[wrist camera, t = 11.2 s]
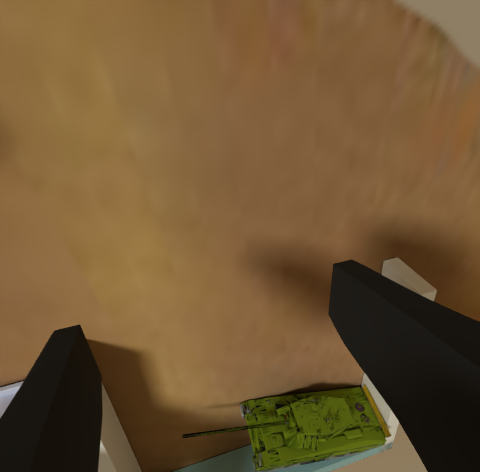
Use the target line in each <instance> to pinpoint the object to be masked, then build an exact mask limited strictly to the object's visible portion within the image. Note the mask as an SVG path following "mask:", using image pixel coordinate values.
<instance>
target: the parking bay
mask: <svg viewBox="0 0 480 472" xmlns="http://www.w3.org/2000/svg"><path fill="white" fill-rule="evenodd" d="M381 275H383V276H385V277H387V278H389V279H391V280H393V281H394V282H396V283H398V284H400V285H402V286H404V287H406V288H408V289H410V290H412V291H414V292H416V293H418V294H420V295H422V296H424V297H426V298H428V299H430V300H432V301H434V299H435V296H436V292H437V290H436V289H435V288H434V287H433V286H431V285H430V284H429V283H428V282H427V281H426V280H424V279H423V278H422V277H421V276H420V275H418V274H417V273H416V272H415V271H414V270H412V269H411V268H410V267H409V266H408V265H406V264H405V263H404V262H403V261H402V260H401V259H399V258H398V257H396V258H393V259H389V260H385V261H384V262H383V268H382V273H381ZM365 385H366V387H367V389H368V391H369V393H370V395H371V397H372V398H373V400H374V402H375V404H376V406H377V408H378V410H379V412H380V414H381V416H382V418H383V420H384V422H385V424H386V426H387V428H388V430H389V432H390V434H391V436H390V437H389V438H387V437H386V438H385V439H386V442H385V445H383V446H379V447H376V448H373V449H370V450H368V451H365V452H362V453H359V454H355V455H350V456H345V457H340V458H334V459H329V460H324V461H319V462H314V463H309V464H304V465H299V466H294V467H289V468H284V469H279V470H274V471H255V469H254V465H253V460H252V457H253V456H254V455H253V454H254V452H253V448H252V444H251V445H248V446H245V447H242V448H239V449H236V450H233V451H230V452H228V453H225V454H222V455H219V456H216V457H213V458H210V459H207V460H204V461H202V462H199V463H196V464H193V465H190V466H187V467H184V468H181V469H179V470H176V471H173V472H330V471H332V470H335V469H338V468H340V467H343V466H346V465H348V464H351V463H353V462H356V461H359V460H361V459H364V458H366V457H369V456H372V455H374V454H377V453H379V452H382V451H385V450H387V449H390V448H391V447H392V444H393V440H394V437H395V434H396V430H397V427H398V423H399V421H398V419H397V418H396V416H395V415H394V413H393V412H392V410H391V409H390V407H389V406H388V405H387V403H386V402H385V400H384V399H383V398H382V396H381V395H380V393H379V392H378V391H377V389H376V388H375V386H374V385H373V384H372V382H371V381H370V379H369V378H368V377H367V375H366V374H365V373H364V376H363V382H362V386H365ZM361 390H362V391H363V388H362V387H361ZM368 401H369V400H368ZM369 403H370V402H369ZM370 405H371V404H370ZM102 406H103V416H102V429H101V442H100V454H99V465H98V472H142V471H141V469H140V466H139V464H138V462H137V460H136V457H135V455H134V453H133V451H132V448H131V446H130V444H129V442H128V439H127V437H126V435H125V433H124V431H123V428H122V426H121V424H120V422H119V419H118V417H117V415H116V413H115V410H114V408H113V406H112V404H111V401H110V399H109V397H108V395H107V392H106V390H105V388H104V386H103V383H102ZM371 407H372V406H371ZM372 409H373V408H372ZM373 411H374V410H373ZM374 413H375V412H374ZM377 420H378V419H377ZM378 422H379V421H378ZM379 424H380V423H379ZM380 426H381V425H380ZM380 428H381V427H380Z"/></svg>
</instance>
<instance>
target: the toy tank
mask: <svg viewBox="0 0 480 472" xmlns="http://www.w3.org/2000/svg"><path fill="white" fill-rule="evenodd" d="M362 388H363V391H362V390H361V388H360V387H354V388H345V389H337V390H328V391H320V392H309V393H301V394H298V393H295V394H292V395H286V396H278V397H269V398H263V399H262V398H260V399H258V400H256V399H255V400H249V401H244V402H243V403H241V406H242V407H241V406H240V409H241V414H242V417H244V418H245V419H246V422H247V426H243V427H235V428H228V429H221V430H213V431H206V432H198V433H191V434H183V436H184V437H183V438H188V437H195V436H202V435H210V434H217V433H224V432H231V431H238V430H246V429H248V431H249V435H250V439H251V443H252V448H253V452H254V454H253V455H254V456H253V457H252V460H253V465H254V469H255V471H274V470H279V469H284V468H289V467H294V466H299V465H304V464H309V463H314V462H319V461H324V460H329V459H334V458H340V457H345V456H350V455H355V454H359V453H362V452H365V451H368V450H370V449H373V448H376V447H379V446H383V445H385V442H386V439H385V438H386V437H387V438H389V437H390V436H391V434H390V432H389V430H388V428H387V426H386V424H385V422H384V420H383V418H382V416H381V414H380V412H379V410H378V408H377V406H376V404H375V402H374V400H373V398H372V397H371V395H370V393H369V391H368V389H367V387H366V385H365V386H362ZM368 400H369V401H368ZM369 402H370V403H369ZM370 404H371V405H370ZM243 405H244V407H243ZM371 406H372V407H371ZM372 408H373V409H372ZM373 410H374V411H373ZM374 412H375V413H374ZM377 419H378V420H377ZM378 421H379V422H378ZM379 423H380V424H379ZM380 425H381V426H380ZM247 427H248V428H247ZM380 427H381V428H380ZM239 428H240V429H239ZM242 428H243V429H242ZM232 429H236V430H232ZM224 430H225V431H224ZM226 430H229V431H226ZM217 431H222V432H217ZM209 432H210V433H209ZM211 432H212V433H211ZM213 432H214V433H213ZM202 433H203V434H202ZM204 433H205V434H204ZM206 433H207V434H206ZM195 434H198V435H195ZM199 434H200V435H199ZM189 435H192V436H189Z"/></svg>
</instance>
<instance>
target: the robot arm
mask: <svg viewBox="0 0 480 472" xmlns="http://www.w3.org/2000/svg"><path fill="white" fill-rule="evenodd" d="M328 314H329V316H330V318H331V320H332V322H333V324H334V326H335V328H336V330H337V332H338V333H339V335H340V337H341V339H342V341H343V342H344V344H345V346H346V347H347V348H348V350H349V351H350V353H351V354H352V356H353V357H354V358H355V360H356V361H357V363H358V364H359V366H360V367H361V368H362V370H363V371H364V373H365V374H366V375H367V377H368V378H369V379H370V381H371V382H372V384H373V385H374V386H375V388H376V389H377V391H378V392H379V393H380V395H381V396H382V398H383V399H384V400H385V402H386V403H387V405H388V406H389V407H390V409H391V410H392V412H393V413H394V415H395V416H396V418H397V419H398V421H399V423H400V424H401V426H402V428H403V429H404V431H405V433H406V434H407V436H408V438H409V440H410V441H411V443H412V445H413V446H414V448H415V450H416V452H417V453H418V455H419V457H420V458H421V460H422V462H423V464H424V466H425V467H426V469H427V471H428V472H480V322H478V321H476V320H474V319H471V318H469V317H466V316H464V315H462V314H460V313H458V312H455V311H453V310H451V309H449V308H447V307H444V306H442V305H440V304H438V303H436V302H434V301H432V300H430V299H428V298H426V297H424V296H422V295H420V294H418V293H416V292H414V291H412V290H410V289H408V288H406V287H404V286H402V285H400V284H398V283H396V282H394V281H393V280H391V279H389V278H387V277H385V276H383V275H381V274H379V273H377V272H375V271H374V270H372V269H370V268H368V267H366V266H364V265H362V264H360V263H358V262H356V261H354V260H348V261H344V262H340V263H335V264H333V273H332V283H331V293H330V303H329V313H328ZM102 416H103V406H102V379H101V374H100V371H99V369H98V366H97V364H96V362H95V359H94V357H93V355H92V352H91V350H90V347H89V345H88V343H87V340H86V338H85V335H84V333H83V331H82V328H81V326H80V325H76V326H72V327H68V328H63V329H59V330H55V331H54V332H53V334H52V335H51V337H50V338H49V340H48V342H47V343H46V345H45V347H44V348H43V350H42V352H41V353H40V355H39V357H38V359H37V360H36V362H35V364H34V365H33V367H32V369H31V370H30V372H29V374H28V375H27V377H26V378H25V380H24V381H22V382H19V383H15V384H11V385H8V386H4V387H0V472H98V465H99V454H100V442H101V429H102Z"/></svg>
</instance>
